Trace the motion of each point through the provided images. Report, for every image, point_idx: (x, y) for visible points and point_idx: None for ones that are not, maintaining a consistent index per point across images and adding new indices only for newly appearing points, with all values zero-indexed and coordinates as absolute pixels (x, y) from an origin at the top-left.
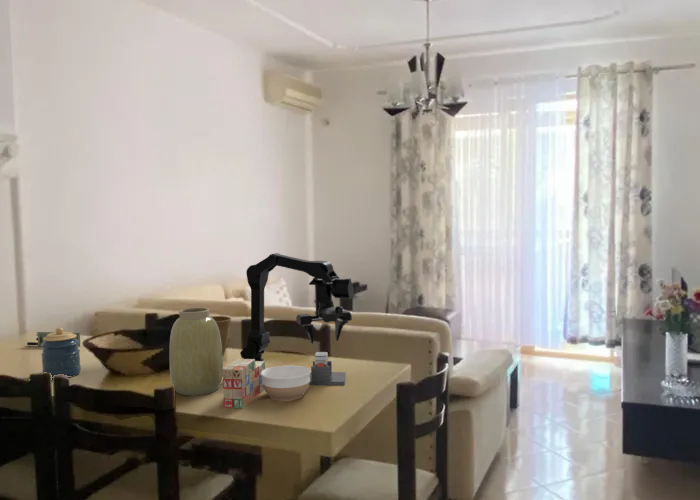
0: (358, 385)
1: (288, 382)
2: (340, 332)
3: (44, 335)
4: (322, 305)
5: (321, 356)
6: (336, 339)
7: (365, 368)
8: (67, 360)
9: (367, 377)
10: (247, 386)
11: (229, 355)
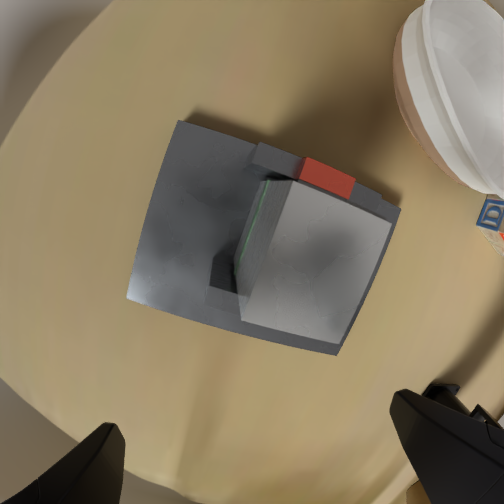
0: (121, 101)
1: (479, 13)
2: (45, 474)
3: None
4: None
5: (338, 196)
6: (117, 439)
7: (50, 354)
8: None
9: (51, 222)
10: None
11: (389, 500)
